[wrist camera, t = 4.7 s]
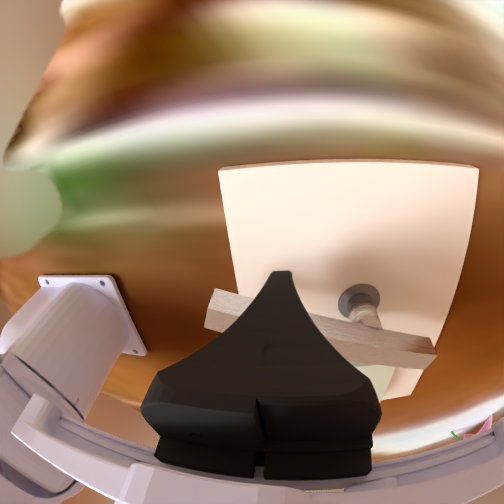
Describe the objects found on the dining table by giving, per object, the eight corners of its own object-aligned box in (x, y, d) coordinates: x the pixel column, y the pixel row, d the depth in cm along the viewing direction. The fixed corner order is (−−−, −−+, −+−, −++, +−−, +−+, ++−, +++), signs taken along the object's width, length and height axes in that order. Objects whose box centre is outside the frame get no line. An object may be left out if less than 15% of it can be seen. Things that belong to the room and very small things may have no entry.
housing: (261, 398, 23) (260, 408, 22) (222, 167, 13) (217, 171, 12) (408, 386, 20) (410, 395, 19) (469, 164, 11) (479, 169, 10)
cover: (312, 395, 20) (312, 420, 18) (316, 340, 17) (318, 370, 15) (370, 390, 19) (374, 415, 17) (388, 333, 16) (397, 361, 14)
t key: (404, 325, 15) (423, 371, 12) (221, 280, 15) (203, 330, 12) (417, 306, 15) (439, 353, 11) (227, 256, 14) (208, 304, 11)
